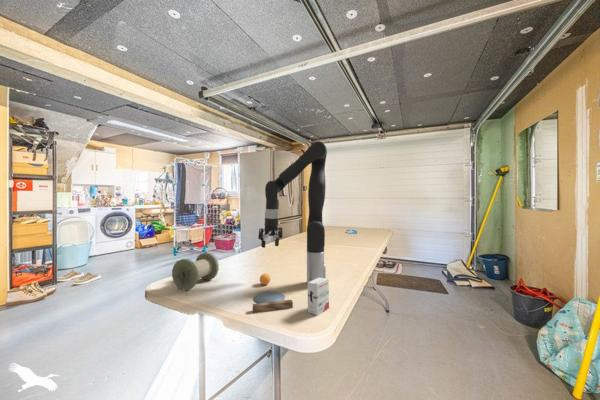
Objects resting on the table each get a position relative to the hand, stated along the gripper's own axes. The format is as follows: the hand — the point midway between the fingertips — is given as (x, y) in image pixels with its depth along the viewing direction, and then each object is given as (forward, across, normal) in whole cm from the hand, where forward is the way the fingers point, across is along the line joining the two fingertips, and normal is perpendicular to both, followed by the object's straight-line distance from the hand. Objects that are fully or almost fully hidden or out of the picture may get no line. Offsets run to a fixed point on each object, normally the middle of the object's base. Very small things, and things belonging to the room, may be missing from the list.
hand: (270, 246), depth 122 cm
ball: (+16, -4, -3) cm, 17 cm away
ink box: (+18, -4, -41) cm, 45 cm away
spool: (+21, -31, +21) cm, 43 cm away
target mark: (+18, -12, -19) cm, 29 cm away
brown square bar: (+18, -17, -28) cm, 38 cm away
